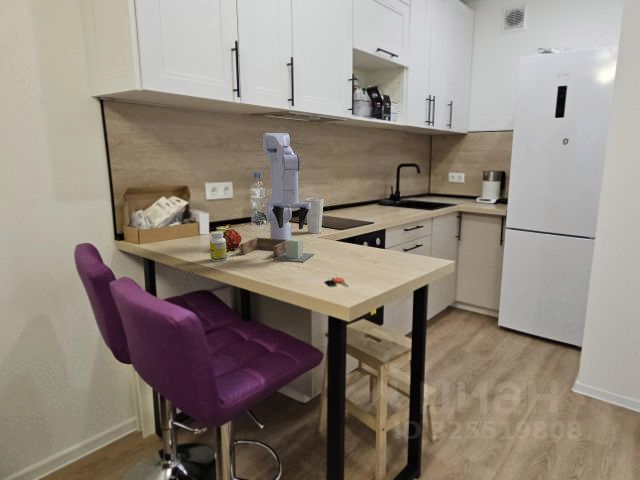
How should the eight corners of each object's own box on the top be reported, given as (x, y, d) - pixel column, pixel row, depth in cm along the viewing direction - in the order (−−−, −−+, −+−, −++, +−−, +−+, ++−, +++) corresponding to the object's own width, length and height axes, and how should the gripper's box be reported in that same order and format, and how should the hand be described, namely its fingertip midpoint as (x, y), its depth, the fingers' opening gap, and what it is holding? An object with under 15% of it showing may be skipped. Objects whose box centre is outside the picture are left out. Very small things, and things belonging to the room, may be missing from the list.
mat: (286, 252, 154) (286, 251, 154) (314, 254, 151) (314, 253, 151) (273, 260, 144) (273, 258, 144) (303, 262, 141) (303, 261, 140)
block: (291, 254, 150) (290, 238, 149) (302, 255, 149) (302, 238, 147) (286, 257, 146) (285, 240, 145) (298, 258, 145) (297, 241, 143)
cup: (301, 232, 193) (301, 199, 190) (315, 229, 199) (315, 197, 195) (313, 234, 187) (313, 200, 184) (327, 232, 192) (327, 199, 189)
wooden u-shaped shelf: (256, 247, 163) (256, 237, 162) (290, 250, 159) (290, 239, 158) (240, 254, 152) (240, 244, 151) (276, 257, 147) (276, 246, 146)
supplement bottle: (210, 258, 146) (208, 231, 144) (225, 257, 148) (224, 230, 146) (211, 262, 142) (210, 234, 139) (228, 261, 143) (226, 233, 141)
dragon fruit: (223, 257, 155) (233, 254, 167) (241, 244, 154) (249, 241, 166) (210, 238, 155) (220, 236, 167) (228, 225, 154) (237, 224, 166)
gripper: (266, 190, 142) (267, 229, 145) (305, 191, 138) (306, 231, 141) (274, 188, 149) (275, 225, 152) (312, 189, 144) (313, 227, 147)
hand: (290, 228), depth 147 cm, fingers open, 7 cm apart
